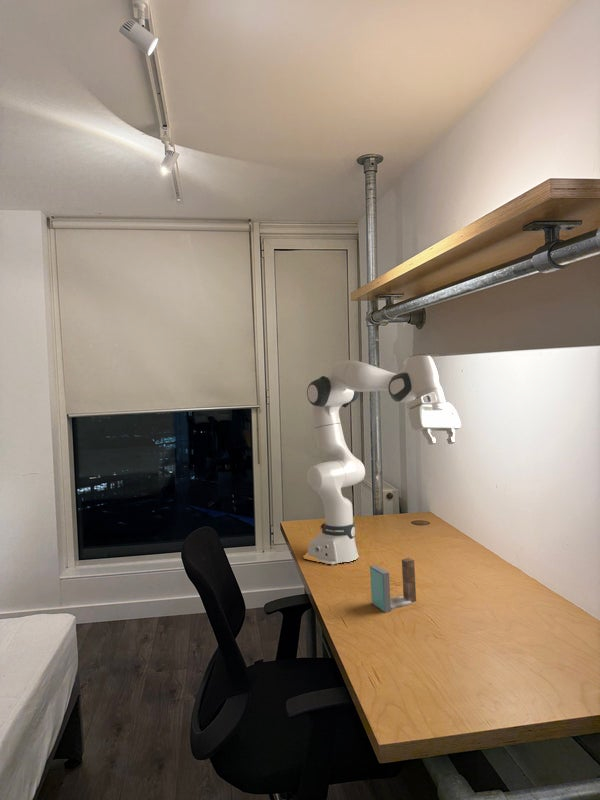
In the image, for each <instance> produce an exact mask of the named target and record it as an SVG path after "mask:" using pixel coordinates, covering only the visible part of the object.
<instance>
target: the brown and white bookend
mask: <svg viewBox="0 0 600 800" xmlns="http://www.w3.org/2000/svg"><path fill="white" fill-rule="evenodd" d="M401 568H402V570H401V571H402V572H401V573H402V593H403V594H402V595H400V596H397V597H393V598H390V604H391V610H393V609H397V608H398V609H399V608H402V607H406V606H409V605H413V602H416V601H417V591H416V588H417V587H416V571H415V570H416V569H415V559H413V558H410V557H407V558H402V559H401Z"/></svg>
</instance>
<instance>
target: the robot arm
mask: <svg viewBox="0 0 600 800" xmlns="http://www.w3.org/2000/svg"><path fill="white" fill-rule="evenodd" d="M330 371H331V372H330V375H329V376H326V375H325V376H324V375H322V376H320V377H319V378H317V379H315V380H312V381H311V382H310V383H309V384H308V386H307V389H306V395H307V399H308V401H309V403H310V404H311V405H312V407H311V408H312V411H311V417H312V418H311V419H312V425H313V432H314V436H315V442H316V447H317V449H319V450H320V451H321V452H324V454H326V455H327V456H328V458H329V461H326V462H318V463H317V464H315V465H312V466H311V467H309V468H308V471H307V473H306V474H307V475H306V479H307V483H308V485H309V487H310V488H311V489H312V490H313V491H315V492H316V493H317V494H318V495H319V497H320V499H321V502H322V503H323V511H324V512H323V513H324V523H322V524H320V525H319V529H320V530H321V531H320V532H319V533H318V534H317V535H315V537H313V538H312V539H311V540H310V541H309V544H308V549H307V551H308V555H309V556H313V557H316V558H318V560H319V561H322V562H326V563H330V564H335V563H340V562H341V563H342V562H350V561H353V560H356V559H357V558H358V557H359V558H360V556H359V553H358V548H357V544H356V538H355V536H356V527H355V521H354V514H353V513H354V511H353V503H352V501H351V500H350V499H349V498H347V497H345V496H344V495H343V494H342V488H346V487H351V486H355V485H356V484H359V483H361V482H362V481H364V479H365V476H366V468H365V465H364V464H363V462H362V461H361V460H360V459H359V458H357V457H356V456H354V454H353V453H352V452H351V451H350V449H349V448H348V445H347V443H346V440H345V436H344V432H343V427H342V423H341V419H340V409H341V407H342V408H347V407H348V406H349V405H351V404H352V403H354V402H355V401H356V400H357V399H358V398H359V396H360V393H368V392H369V393H370V392H384V391H386V392H387V391H388V394H389V396H390V398H391V399H392V400H393V401H394V402H397V403H405V407H406V409H407V410H408V419H409V423H410V426H411V428H412V430H413V431H415V432H422V434H423V436H424V438H425V439H426V440H427V443H428V445H429V446H430V445H435V444H436V441H437V440H436V438H435V437H433V435H432V434H431V433H432V432H443V431H444V432H446V434H447V435H448V437H447V438H446V441H447V444H448V445H453V444H455V443H456V440H455V436H456V431H457V430H459V429H461V427H462V423H461V419H460V417H459V415H458V412H457V410H456V409H455V407H454V405H452V404H451V402H449V401H448V402H446V398H445V395H444V391H443V387H442V386H441V384H440V380H439V379H440V377H439V373H438V370H437V367H436V364H435V362H434V360H433V358H432V356H431V355H429V354H424V353H422V354H421V353H420V354H414V355H411V356H408V357H407V359H406V362H405V364H404V366H403V367H402V369H401V370H400V371H398V373H395V372H392V371H389V370H385V369H384V368H380V367H377V366H374V365H372V364H369V363H368V362H367V363H366V362H363V361H359V360H355V359H354V360H353V359H347V360H346V359H344V360H339V361H337V362H335V363H334V364H333V366H332V368H331V370H330ZM356 561H357V560H356ZM350 563H351V562H350Z"/></svg>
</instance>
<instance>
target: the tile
mask: <svg viewBox="0 0 600 800" xmlns="http://www.w3.org/2000/svg"><path fill="white" fill-rule="evenodd" d="M369 571H370V572H369V574H370V593H371V595H370V596H371V604H372V605H374V606H375V607H376V608H377V609H379V610H381V611H382V612H383V613H388V612H391V611H392V609H391V604H390V599H391V587H390V585H391V584H390V572H389V571H387V570H385V569H383V568H382V567H380V566H378V565H377V564H373V565H369Z"/></svg>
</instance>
